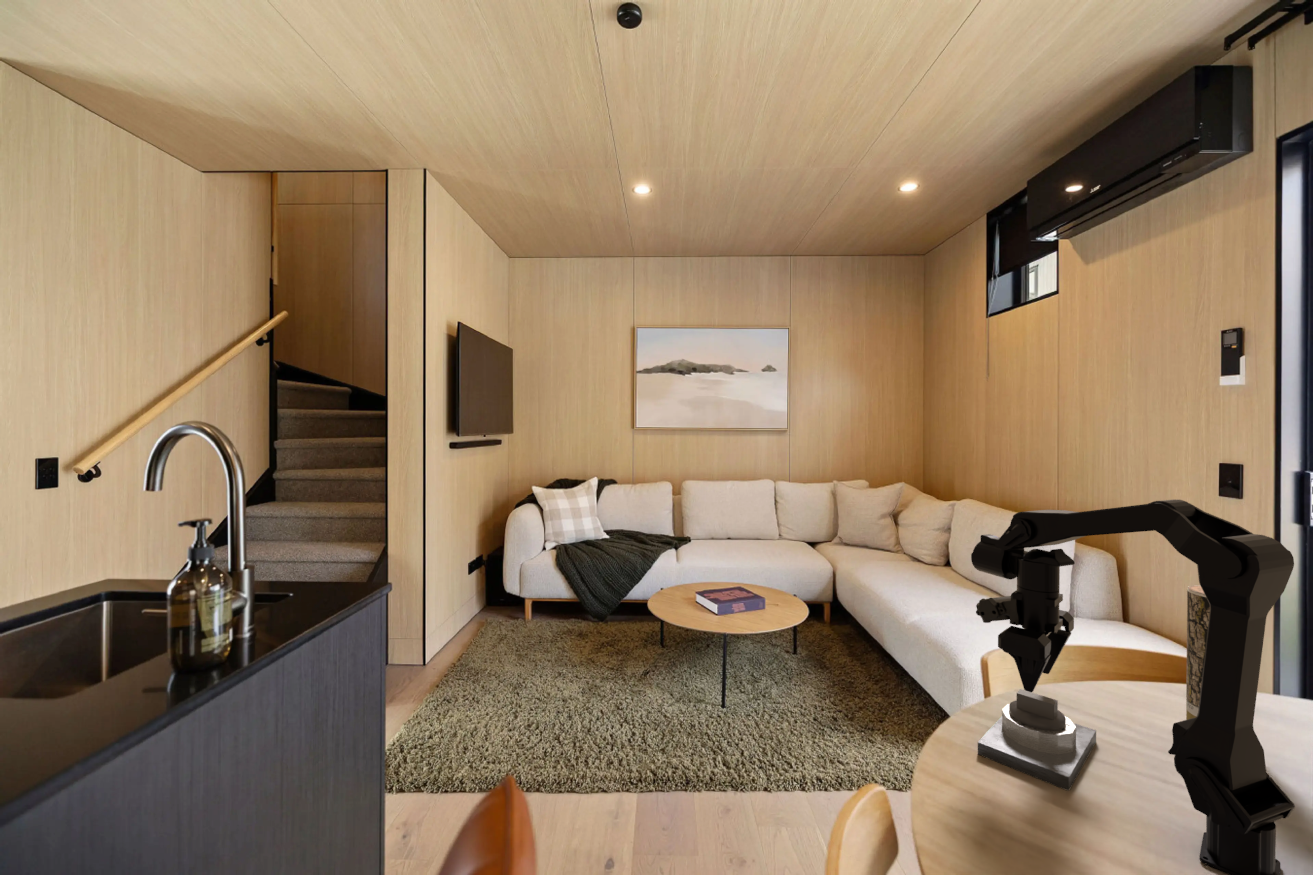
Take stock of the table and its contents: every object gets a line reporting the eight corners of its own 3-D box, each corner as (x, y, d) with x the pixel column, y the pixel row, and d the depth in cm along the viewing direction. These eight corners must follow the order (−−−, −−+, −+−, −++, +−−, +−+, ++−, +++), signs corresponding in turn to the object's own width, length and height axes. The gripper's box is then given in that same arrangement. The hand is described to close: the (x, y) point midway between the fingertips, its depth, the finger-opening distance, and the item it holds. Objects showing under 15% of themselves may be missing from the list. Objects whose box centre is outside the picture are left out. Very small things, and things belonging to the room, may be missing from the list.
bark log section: (1195, 745, 90) (1196, 594, 90) (1179, 724, 96) (1180, 583, 96) (1252, 756, 87) (1254, 599, 86) (1232, 734, 93) (1234, 588, 92)
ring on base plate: (1068, 790, 79) (1068, 756, 79) (977, 754, 88) (977, 723, 88) (1096, 741, 91) (1096, 712, 91) (1013, 714, 100) (1013, 687, 100)
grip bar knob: (1058, 753, 85) (1058, 713, 84) (1002, 733, 90) (1002, 695, 90) (1070, 734, 90) (1071, 697, 89) (1017, 716, 95) (1017, 681, 95)
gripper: (1000, 567, 102) (1000, 650, 102) (962, 588, 89) (962, 682, 90) (1075, 579, 93) (1074, 670, 94) (1044, 604, 81) (1043, 709, 81)
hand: (1037, 681), depth 90 cm, fingers open, 9 cm apart
